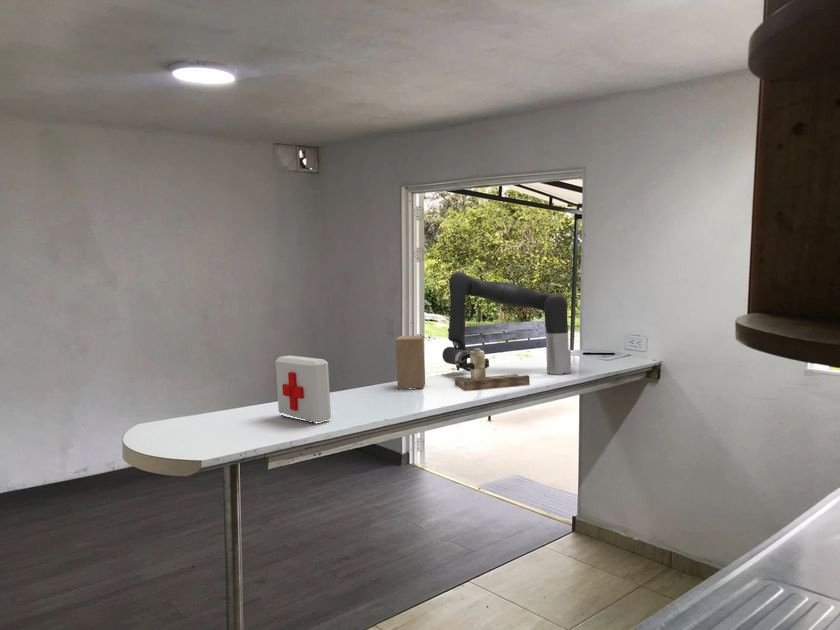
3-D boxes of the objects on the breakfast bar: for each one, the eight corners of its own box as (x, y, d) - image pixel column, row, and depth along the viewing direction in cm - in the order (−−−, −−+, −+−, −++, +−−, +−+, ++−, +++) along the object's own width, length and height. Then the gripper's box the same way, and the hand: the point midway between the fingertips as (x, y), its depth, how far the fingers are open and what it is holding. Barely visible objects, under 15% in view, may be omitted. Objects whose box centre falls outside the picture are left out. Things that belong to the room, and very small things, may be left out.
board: (516, 379, 269) (515, 370, 268) (529, 384, 255) (529, 375, 255) (454, 384, 263) (454, 375, 262) (465, 390, 249) (465, 381, 249)
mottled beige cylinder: (482, 380, 258) (480, 347, 257) (485, 382, 254) (484, 348, 253) (471, 381, 257) (469, 348, 256) (474, 383, 253) (473, 349, 251)
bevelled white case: (274, 417, 219) (270, 357, 217) (294, 412, 225) (291, 354, 223) (312, 426, 204) (308, 362, 203) (333, 421, 210) (329, 359, 208)
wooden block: (425, 384, 266) (423, 335, 265) (423, 389, 256) (420, 338, 255) (400, 385, 267) (398, 336, 266) (397, 389, 257) (395, 339, 256)
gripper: (449, 352, 267) (461, 358, 250) (482, 349, 270) (497, 355, 253) (450, 370, 267) (462, 377, 251) (483, 368, 271) (498, 374, 254)
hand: (480, 366), depth 252 cm, fingers closed on mottled beige cylinder, 4 cm apart
